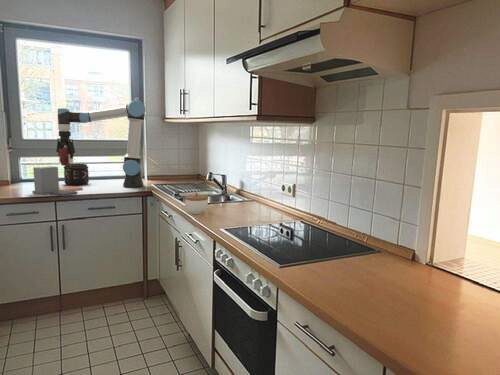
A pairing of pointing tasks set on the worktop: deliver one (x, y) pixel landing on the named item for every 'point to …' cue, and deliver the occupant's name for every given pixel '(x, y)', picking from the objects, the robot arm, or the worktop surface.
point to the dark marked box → (76, 174)
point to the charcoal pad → (64, 193)
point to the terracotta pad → (70, 188)
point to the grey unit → (46, 180)
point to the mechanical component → (64, 156)
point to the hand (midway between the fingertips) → (66, 162)
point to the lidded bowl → (196, 203)
